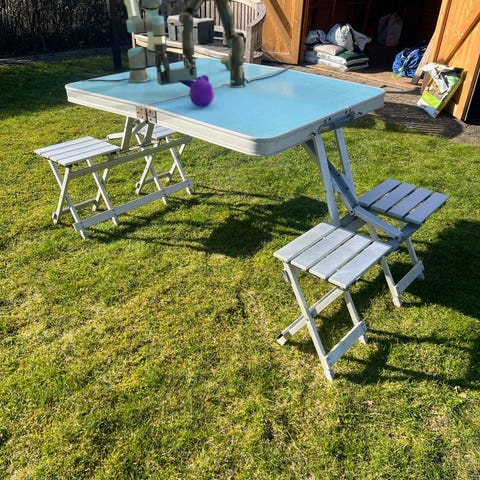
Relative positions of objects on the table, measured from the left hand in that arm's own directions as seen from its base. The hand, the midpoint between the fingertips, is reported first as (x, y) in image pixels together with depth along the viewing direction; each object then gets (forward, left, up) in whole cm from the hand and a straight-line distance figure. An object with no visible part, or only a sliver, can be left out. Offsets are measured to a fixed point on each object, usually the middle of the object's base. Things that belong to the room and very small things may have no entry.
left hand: (163, 80), depth 289 cm
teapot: (+69, +77, -10) cm, 104 cm away
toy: (+16, -30, -10) cm, 35 cm away
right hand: (+19, +5, +2) cm, 19 cm away
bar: (+10, +3, -2) cm, 10 cm away
